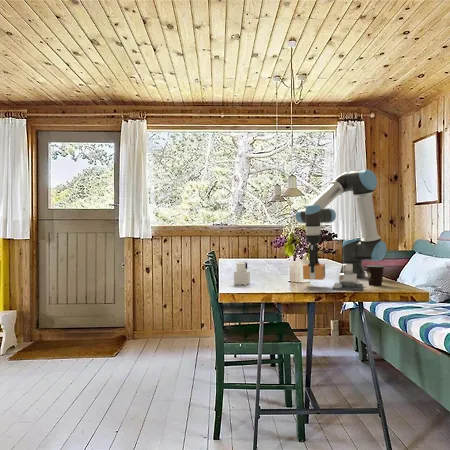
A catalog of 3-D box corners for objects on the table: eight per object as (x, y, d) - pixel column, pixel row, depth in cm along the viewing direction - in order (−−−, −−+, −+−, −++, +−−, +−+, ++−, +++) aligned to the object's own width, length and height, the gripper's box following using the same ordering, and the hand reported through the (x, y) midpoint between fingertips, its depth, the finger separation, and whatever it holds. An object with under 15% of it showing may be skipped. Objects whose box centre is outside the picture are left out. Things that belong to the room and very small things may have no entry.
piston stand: (335, 284, 233) (335, 262, 233) (362, 285, 229) (362, 262, 229) (332, 289, 216) (332, 265, 216) (361, 290, 212) (361, 266, 212)
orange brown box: (306, 276, 233) (305, 263, 233) (325, 277, 229) (324, 263, 229) (303, 279, 223) (302, 265, 223) (323, 279, 220) (322, 265, 220)
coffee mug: (385, 286, 226) (384, 267, 226) (367, 286, 228) (367, 266, 228) (381, 283, 237) (381, 265, 237) (365, 283, 239) (365, 264, 239)
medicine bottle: (237, 283, 244) (237, 261, 244) (250, 283, 242) (249, 261, 242) (233, 284, 237) (233, 262, 237) (246, 285, 235) (246, 263, 235)
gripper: (308, 233, 238) (309, 274, 238) (302, 235, 217) (303, 280, 217) (323, 233, 235) (323, 274, 236) (317, 235, 214) (319, 280, 214)
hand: (314, 277), depth 226 cm, fingers closed on orange brown box, 10 cm apart
